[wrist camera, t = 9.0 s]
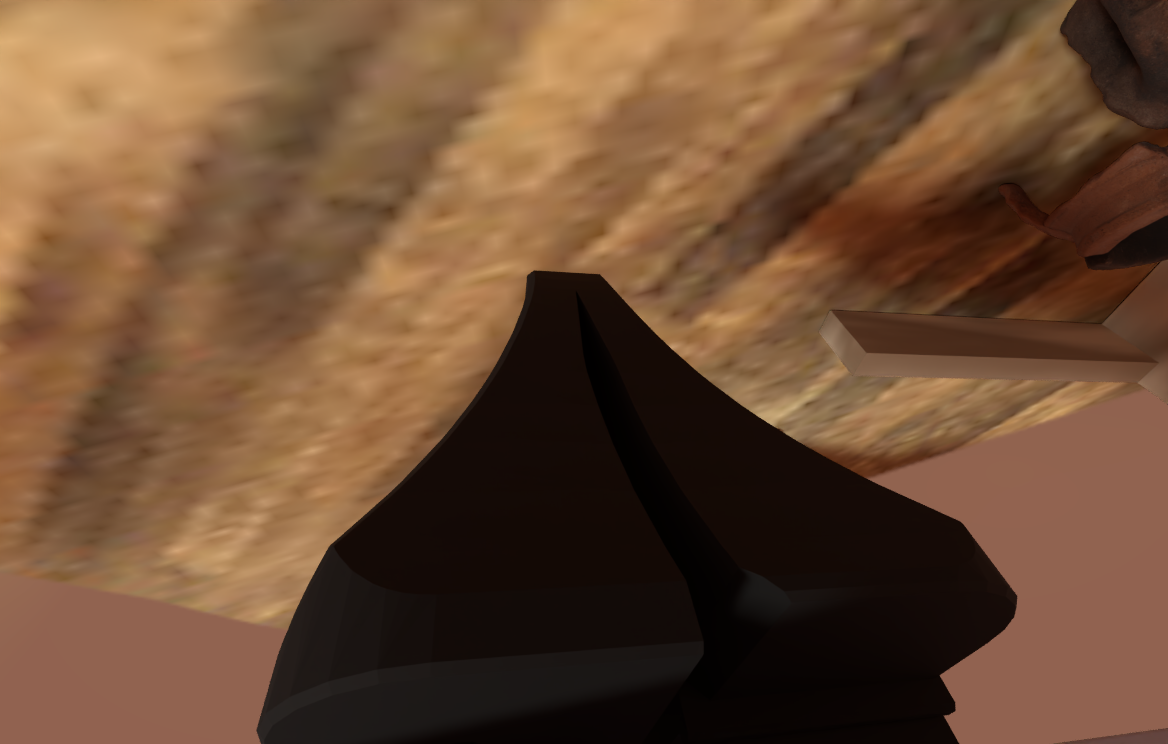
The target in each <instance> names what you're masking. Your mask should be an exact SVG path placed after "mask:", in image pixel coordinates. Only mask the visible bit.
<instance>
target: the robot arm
mask: <svg viewBox="0 0 1168 744" xmlns="http://www.w3.org/2000/svg"><path fill="white" fill-rule="evenodd" d="M1016 605H1017V595H1016V594H1015V592H1014V591H1013V590H1012V588H1010V586H1009V584H1008V583H1007V582H1006V581H1005V579H1004V578H1003V576H1002V575H1001V574H1000V572H999V571H998V570H997V568H996V567H995V566H994V564H993V563H992V562H991V560H990V559H989V558H988V556H987V555H986V554H985V552H984V551H983V550H982V549H981V547H980V546H979V545H978V543H977V542H976V541H975V539H974V538H973V537H972V535H971V534H970V533H969V531H968V530H967V529H966V527H965V526H964V525H963V524H962V523H961V522H960V521H958V520H956V519H953V518H951V517H949V516H947V515H944V514H942V513H940V512H938V511H936V510H934V509H931V508H929V507H927V506H925V505H923V504H920V503H918V502H916V501H914V500H911V499H909V498H907V497H905V496H903V495H900V494H898V493H896V492H894V491H891V490H889V489H887V488H885V487H882V486H880V485H878V484H876V483H874V482H872V481H870V480H868V479H866V478H864V477H862V476H860V475H858V474H857V473H855V472H853V471H851V470H849V469H847V468H845V467H843V466H841V465H839V464H837V463H836V462H834V461H832V460H830V459H828V458H826V457H824V456H822V455H821V454H819V453H817V452H815V451H814V450H812V449H810V448H808V447H807V446H805V445H803V444H801V443H800V442H798V441H796V440H794V439H793V438H791V437H790V436H788V435H786V434H785V433H783V432H782V431H780V430H778V429H777V428H775V427H774V426H772V425H770V424H769V423H767V422H766V421H764V420H762V419H761V418H759V417H758V416H756V415H755V414H753V413H752V412H750V411H749V410H747V409H746V408H745V407H743V406H742V405H740V404H739V403H737V402H736V401H735V400H733V399H732V398H731V397H729V396H728V395H727V394H725V393H724V392H723V391H721V390H720V389H719V388H717V387H716V386H715V385H713V384H712V383H711V382H709V381H708V380H707V379H706V378H704V377H703V376H702V375H701V374H700V373H698V372H697V371H696V370H695V369H694V368H692V367H691V366H690V365H689V364H688V363H687V362H686V361H685V360H683V359H682V358H681V357H680V356H679V355H678V354H677V353H676V352H674V351H673V350H672V349H671V348H670V347H669V346H668V345H667V344H666V343H665V342H664V341H663V340H662V339H661V338H660V337H658V336H657V335H656V334H655V333H654V332H653V331H652V330H651V329H650V328H649V326H648V325H647V324H646V323H645V322H644V321H643V320H642V319H641V318H640V317H639V316H638V315H637V314H636V313H635V312H634V311H633V310H632V309H631V308H630V307H629V305H628V304H627V303H626V302H625V301H624V300H623V299H622V298H621V297H620V296H619V295H618V293H617V292H616V291H615V290H614V289H613V288H612V287H611V286H610V285H609V284H608V282H607V281H606V280H605V279H604V278H603V277H602V276H601V275H600V274H585V273H568V272H551V271H533V272H531V273H530V274H529V275H527V283H526V295H525V301H524V305H523V308H522V311H521V313H520V316H519V318H518V321H517V323H516V326H515V328H514V331H513V333H512V335H511V337H510V339H509V341H508V343H507V345H506V347H505V349H504V351H503V353H502V355H501V356H500V358H499V360H498V362H497V364H496V366H495V367H494V369H493V371H492V372H491V374H490V375H489V377H488V379H487V380H486V382H485V383H484V385H483V386H482V388H481V389H480V391H479V392H478V394H477V395H476V396H475V398H474V399H473V401H472V402H471V403H470V405H469V406H468V407H467V409H466V410H465V411H464V412H463V414H462V415H461V416H460V418H459V419H458V420H457V421H456V423H455V424H454V425H453V427H452V428H451V429H450V430H449V431H448V432H447V434H446V435H445V436H444V437H443V438H442V439H441V441H440V442H439V443H438V444H437V445H436V446H435V447H434V448H433V449H432V450H431V451H430V452H429V453H428V454H427V456H426V457H425V458H424V459H423V460H422V461H421V462H420V463H419V464H418V465H417V466H416V467H415V468H414V469H413V470H412V471H411V472H410V473H409V474H408V475H407V477H406V478H405V479H404V480H403V481H402V482H401V483H400V484H399V485H398V486H396V487H395V488H394V489H393V490H392V491H391V492H390V493H389V494H388V495H387V496H386V497H385V498H384V499H382V500H381V501H380V502H379V503H378V504H377V505H376V506H374V507H373V508H372V509H371V510H370V511H369V512H368V513H367V514H365V515H364V516H363V517H362V518H361V519H360V520H359V521H358V522H356V523H355V524H354V525H353V526H352V527H351V528H350V529H348V530H347V531H346V532H345V533H344V534H343V535H342V536H341V537H339V538H338V539H337V540H336V541H335V542H334V543H332V544H331V545H330V546H329V548H328V550H327V551H326V553H325V555H324V557H323V558H322V560H321V562H320V564H319V566H318V568H317V570H316V571H315V573H314V575H313V577H312V579H311V581H310V583H309V584H308V586H307V589H306V591H305V593H304V595H303V597H302V599H301V601H300V603H299V605H298V607H297V609H296V612H295V614H294V616H293V619H292V621H291V624H290V626H289V629H288V631H287V633H286V636H285V638H284V641H283V643H282V646H281V648H280V651H279V654H278V657H277V660H276V664H275V667H274V671H273V674H272V678H271V681H270V685H269V689H268V692H267V695H266V699H265V702H264V706H263V709H262V713H261V716H260V720H259V723H258V727H257V733H258V736H259V739H260V742H261V744H959V743H958V741H957V739H956V737H955V735H954V734H953V732H952V730H951V728H950V726H949V725H948V723H947V721H946V719H945V718H944V716H943V715H949V714H951V713H953V712H955V701H954V700H953V698H952V696H951V695H950V693H949V691H948V689H947V688H946V686H945V684H944V682H943V681H942V679H941V677H940V676H939V675H941V674H942V673H944V672H945V671H946V670H948V669H949V668H951V667H952V666H954V665H955V664H957V663H958V662H960V661H961V660H963V659H964V658H966V657H967V656H969V655H970V654H972V653H973V652H975V651H976V650H978V649H979V648H981V647H982V646H984V645H985V644H987V643H988V642H989V641H991V640H992V639H993V638H994V637H996V636H997V635H998V634H999V633H1001V632H1002V631H1003V630H1005V628H1006V627H1007V626H1008V624H1009V623H1010V622H1011V620H1012V619H1013V618H1014V615H1015V611H1016ZM1055 744H1168V728H1166V729H1158V730H1150V731H1143V732H1136V733H1129V734H1121V735H1114V736H1106V737H1099V738H1092V739H1084V740H1077V741H1070V742H1062V743H1055Z"/></svg>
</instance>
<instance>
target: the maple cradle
mask: <svg viewBox="0 0 1168 744" xmlns="http://www.w3.org/2000/svg"><path fill="white" fill-rule="evenodd" d="M819 333H820V334H821V336H822V337H823V338H824V340H825V341H826V342H827V343H828V345H829V346H830V347H831V349H832V350H833V351H834V353H835V354H836V355H837V356H838V358H839V359H840V360H841V362H842V363H843V364H844V365H845V367H846V368H847V369H848V371H849V372H850V373H851V375H852V376H883V377H923V378H964V379H1005V380H1045V381H1086V382H1126V383H1139V384H1140V385H1141V386H1143V387H1144V388H1145V389H1147V390H1148V391H1149V392H1151V393H1152V394H1154V395H1155V396H1156V397H1158V398H1159V399H1160V400H1162V401H1163V402H1165V403H1166V404H1167V405H1168V260H1164V261H1161V262H1160V263H1159V264H1158V265H1157V266H1156V268H1155V269H1154V270H1153V271H1152V272H1151V273H1150V274H1149V275H1148V276H1147V277H1146V278H1145V279H1144V280H1143V281H1142V282H1141V283H1140V284H1139V285H1138V286H1137V288H1136V289H1135V290H1134V291H1133V292H1132V293H1131V294H1130V295H1129V296H1128V297H1127V298H1126V299H1125V300H1124V301H1123V302H1122V303H1121V304H1120V305H1119V306H1118V308H1117V309H1116V310H1115V311H1114V312H1113V313H1112V314H1111V315H1110V316H1109V317H1108V318H1107V319H1106V320H1105V321H1104V322H1103V323H1102V324H1093V323H1073V322H1053V321H1034V320H1014V319H994V318H975V317H955V316H936V315H916V314H896V313H877V312H857V311H837V310H830V312H829V314H828V316H827V318H826V319H825V321H824V323H823V325H822V327H821V329H820V331H819Z"/></svg>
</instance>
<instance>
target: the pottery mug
mask: <svg viewBox="0 0 1168 744" xmlns="http://www.w3.org/2000/svg"><path fill="white" fill-rule="evenodd" d="M1060 31H1061V33H1062V34H1065V35H1067V37H1068V44H1069V45H1070V46H1071V47H1072V48H1073V49H1074V50H1075V51H1077V52H1078V53H1079V54H1081V55H1082V57H1083V59H1084V60H1085V61H1087V62H1088V63H1089V64H1090V65H1091V78H1092V79H1093V81H1094V83H1095V85H1096V86H1097V87H1098V88H1099V89H1100V91H1101V92H1102V94H1103V101H1104V103H1105V104H1106V106H1107V107H1108V109H1109V110H1111V111H1112V112H1114V113H1116V114H1118V115H1121V116H1123V117H1126V118H1128V119H1131V120H1132V121H1134V122H1135V123H1137V124H1138V125H1140V126H1142V127H1147V128H1152V129H1164V128H1168V0H1077V1H1076V2H1075V4H1074V5H1073V7H1072V8H1071V9H1070V10H1069V12H1068V14H1067V16H1066V18H1065V20H1064V21H1063V23H1062V25H1061V28H1060ZM998 190H999V192H1000V194H1001V195H1002V196H1003V197H1004V198H1005V199H1006V203H1007V204H1008V206H1009V207H1010V208H1011V209H1012V210H1014V211H1016V212H1017V215H1018V217H1019V218H1020V219H1021V220H1022V221H1023V222H1025V223H1027V224H1030V225H1032V226H1034V227H1036V228H1037V229H1039V230H1040V231H1042V232H1044V233H1047V234H1048V235H1051V236H1054V237H1056V238H1059V239H1065V240H1069V241H1072V242H1074V243H1076V247H1077V254H1078V255H1079V256H1081V257H1084V258H1085V261H1086V264H1087V267H1088V268H1089V269H1093V270H1112V269H1122V268H1129V267H1134V266H1141V265H1145V264H1151V263H1155V262H1159V261H1164V260H1168V146H1166V147H1159V146H1158V145H1153V144H1150V143H1148V142H1138V143H1136V144H1134V145H1133V146H1131V147H1130V148H1129V149H1128V150H1127V151H1125V152H1124V153H1123V154H1122V155H1121V156H1120V157H1119V158H1118V159H1117V160H1115V161H1114V162H1113V163H1112V164H1111V165H1110V166H1108V167H1107V168H1106V169H1105V170H1103V171H1102V172H1100V173H1097V174H1095V175H1094V176H1093V177H1092V178H1090V179H1089V180H1088V181H1087V182H1086V183H1085V184H1084V185H1083V186H1082V187H1081V189H1080V190H1079V192H1078V193H1077V194H1076V195H1075V196H1074V197H1073V198H1072V199H1070V200H1068V201H1066V202H1064V203H1062V204H1061V205H1060V206H1058V207H1057V208H1056V209H1055V210H1054V211H1053V212H1052V213H1051V214H1050V215H1048V214H1046V213H1044V212H1041V211H1040V210H1039V209H1038V208H1037V207H1036V206H1035V205H1034V204H1033V203H1032V202H1031V201H1030V199H1029V198H1028V197H1027V195H1026V194H1025V192H1024V191H1023V190H1022V189H1021V188H1020V187H1019V186H1017V185H1015V184H1004V185H1001V186H1000V187H999V188H998Z"/></svg>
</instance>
